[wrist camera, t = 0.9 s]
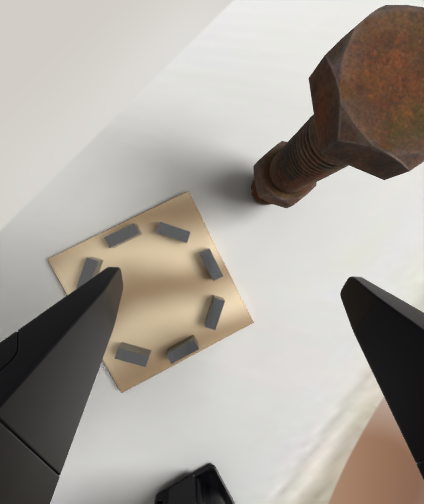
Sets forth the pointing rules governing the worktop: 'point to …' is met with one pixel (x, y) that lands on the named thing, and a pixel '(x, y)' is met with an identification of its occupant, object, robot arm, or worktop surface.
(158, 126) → the worktop surface
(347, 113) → the bolt
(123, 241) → the castellated ring
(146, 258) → the tan flat square board
